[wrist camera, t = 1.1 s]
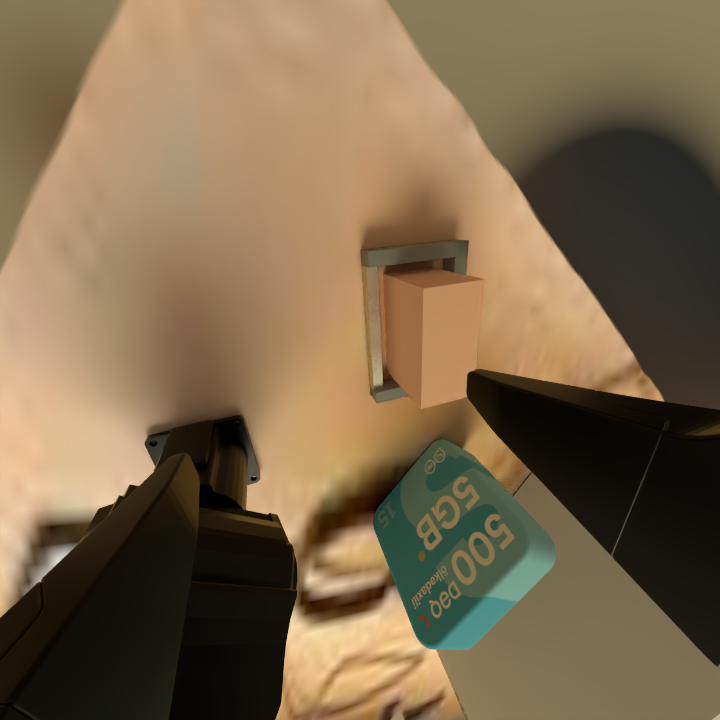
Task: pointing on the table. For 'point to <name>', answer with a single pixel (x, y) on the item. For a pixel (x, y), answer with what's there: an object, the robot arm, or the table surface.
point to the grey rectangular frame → (371, 260)
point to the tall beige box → (432, 332)
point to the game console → (582, 643)
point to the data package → (458, 547)
